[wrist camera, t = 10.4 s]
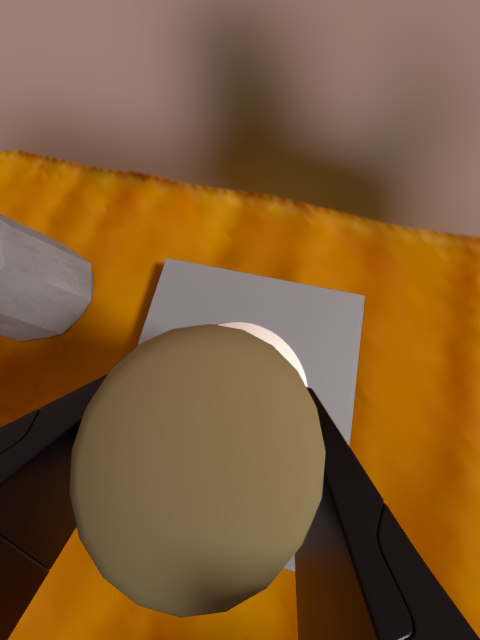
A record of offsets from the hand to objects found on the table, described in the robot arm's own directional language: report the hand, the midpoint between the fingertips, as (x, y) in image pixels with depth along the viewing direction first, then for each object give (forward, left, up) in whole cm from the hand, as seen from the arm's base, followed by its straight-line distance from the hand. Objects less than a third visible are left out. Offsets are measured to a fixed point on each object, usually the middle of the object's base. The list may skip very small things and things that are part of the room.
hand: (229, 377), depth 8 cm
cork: (-1, 0, -7) cm, 7 cm away
